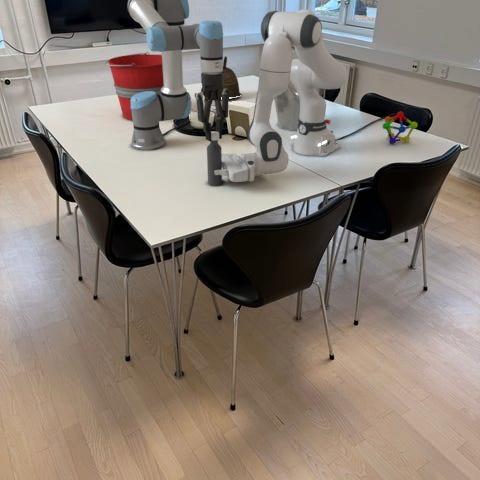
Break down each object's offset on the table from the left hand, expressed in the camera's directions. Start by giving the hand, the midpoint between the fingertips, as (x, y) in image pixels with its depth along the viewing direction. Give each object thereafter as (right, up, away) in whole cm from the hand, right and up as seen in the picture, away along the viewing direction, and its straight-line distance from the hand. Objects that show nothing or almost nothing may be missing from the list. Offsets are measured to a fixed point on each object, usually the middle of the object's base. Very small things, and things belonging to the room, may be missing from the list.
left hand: (213, 138), depth 162 cm
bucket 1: (-44, +33, +86) cm, 102 cm away
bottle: (0, -15, +9) cm, 18 cm away
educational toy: (+84, +9, +49) cm, 97 cm away
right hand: (-1, -10, +6) cm, 12 cm away
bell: (+1, +54, +119) cm, 131 cm away
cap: (0, +2, -1) cm, 2 cm away
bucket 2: (+39, +23, +71) cm, 84 cm away
